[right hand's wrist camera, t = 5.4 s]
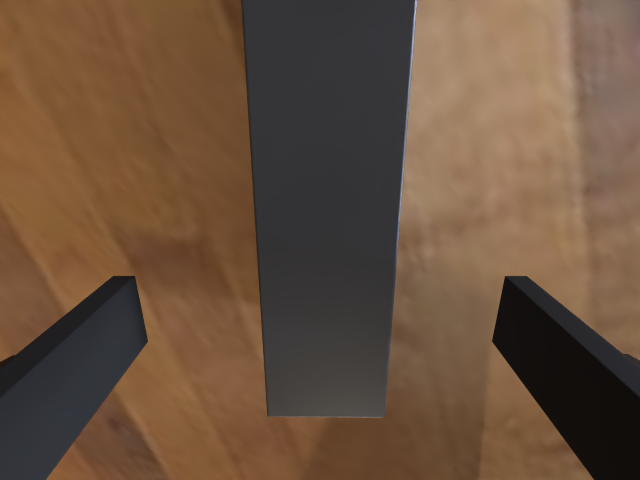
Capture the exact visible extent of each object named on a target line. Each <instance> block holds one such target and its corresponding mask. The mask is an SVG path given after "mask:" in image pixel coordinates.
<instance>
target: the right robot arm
mask: <svg viewBox="0 0 640 480" xmlns="http://www.w3.org/2000/svg"><path fill="white" fill-rule="evenodd" d="M147 342H148V339H147V334H146V329H145V324H144V319H143V314H142V309H141V304H140V299H139V294H138V289H137V284H136V279H135V276H113V277H112V278H110V279H109V280H108V281H107V282H105V283H104V284H103V285H102V286H101V287H99V288H98V289H97V290H96V291H94V292H93V293H92V294H91V295H89V296H88V297H87V298H86V299H84V300H83V301H82V302H81V303H80V304H78V305H77V306H76V307H75V308H73V309H72V310H71V311H70V312H68V313H67V314H66V315H65V316H64V317H62V318H61V319H60V320H59V321H57V322H56V323H55V324H54V325H52V326H51V327H50V328H49V329H48V330H46V331H45V332H44V333H43V334H41V335H40V336H39V337H38V338H36V339H35V340H34V341H33V342H31V343H30V344H29V345H28V346H27V347H25V348H24V349H23V350H22V351H20V352H19V353H18V354H17V355H13V356H11V357H9V358H7V359H5V360H3V361H1V362H0V480H46V479H47V477H48V476H49V475H50V473H51V472H52V471H53V469H54V468H55V467H56V465H57V464H58V462H59V461H60V460H61V458H62V457H63V456H64V454H65V453H66V452H67V450H68V449H69V448H70V446H71V445H72V444H73V442H74V441H75V439H76V438H77V437H78V435H79V434H80V433H81V431H82V430H83V429H84V427H85V426H86V425H87V423H88V422H89V421H90V419H91V418H92V416H93V415H94V414H95V412H96V411H97V410H98V408H99V407H100V406H101V404H102V403H103V402H104V400H105V399H106V397H107V396H108V395H109V393H110V392H111V391H112V389H113V388H114V387H115V385H116V384H117V383H118V381H119V380H120V379H121V377H122V376H123V374H124V373H125V372H126V370H127V369H128V368H129V366H130V365H131V364H132V362H133V361H134V360H135V358H136V357H137V356H138V354H139V353H140V351H141V350H142V349H143V347H144V346H145V345H146V343H147ZM492 342H493V343H494V345H495V346H496V347H497V349H498V350H499V351H500V353H501V354H502V356H503V357H504V358H505V360H506V361H507V362H508V364H509V365H510V366H511V368H512V369H513V370H514V372H515V373H516V374H517V376H518V377H519V379H520V380H521V381H522V383H523V384H524V385H525V387H526V388H527V389H528V391H529V392H530V393H531V395H532V396H533V397H534V399H535V400H536V402H537V403H538V404H539V406H540V407H541V408H542V410H543V411H544V412H545V414H546V415H547V416H548V418H549V419H550V421H551V422H552V423H553V425H554V426H555V427H556V429H557V430H558V431H559V433H560V434H561V435H562V437H563V438H564V439H565V441H566V442H567V444H568V445H569V446H570V448H571V449H572V450H573V452H574V453H575V454H576V456H577V457H578V458H579V460H580V461H581V462H582V464H583V465H584V467H585V468H586V469H587V471H588V472H589V473H590V475H591V476H592V477H593V479H594V480H640V360H638V359H636V358H634V357H632V356H630V355H628V354H622V353H621V352H620V351H618V350H617V349H616V348H615V347H613V346H612V345H611V344H610V343H609V342H607V341H606V340H605V339H604V338H602V337H601V336H600V335H599V334H597V333H596V332H595V331H594V330H592V329H591V328H590V327H589V326H588V325H586V324H585V323H584V322H583V321H581V320H580V319H579V318H578V317H576V316H575V315H574V314H573V313H572V312H570V311H569V310H568V309H567V308H565V307H564V306H563V305H562V304H560V303H559V302H558V301H557V300H556V299H554V298H553V297H552V296H551V295H549V294H548V293H547V292H546V291H544V290H543V289H542V288H541V287H539V286H538V285H537V284H536V283H535V282H533V281H532V280H531V279H530V278H528V277H527V276H505V279H504V284H503V289H502V294H501V299H500V304H499V309H498V314H497V319H496V324H495V329H494V334H493V339H492Z"/></svg>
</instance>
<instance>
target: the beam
mask: <svg viewBox="0 0 640 480" xmlns="http://www.w3.org/2000/svg"><path fill="white" fill-rule="evenodd" d="M241 6H242V21H243V37H244V53H245V69H246V85H247V101H248V116H249V132H250V148H251V164H252V180H253V196H254V211H255V227H256V243H257V259H258V275H259V291H260V306H261V322H262V338H263V354H264V370H265V386H266V402H267V415H268V417H350V418H383V417H384V416H385V403H386V391H387V378H388V365H389V352H390V339H391V327H392V314H393V301H394V288H395V275H396V263H397V250H398V237H399V224H400V212H401V199H402V186H403V173H404V160H405V148H406V135H407V122H408V109H409V96H410V84H411V71H412V58H413V45H414V32H415V20H416V7H417V0H241Z"/></svg>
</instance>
